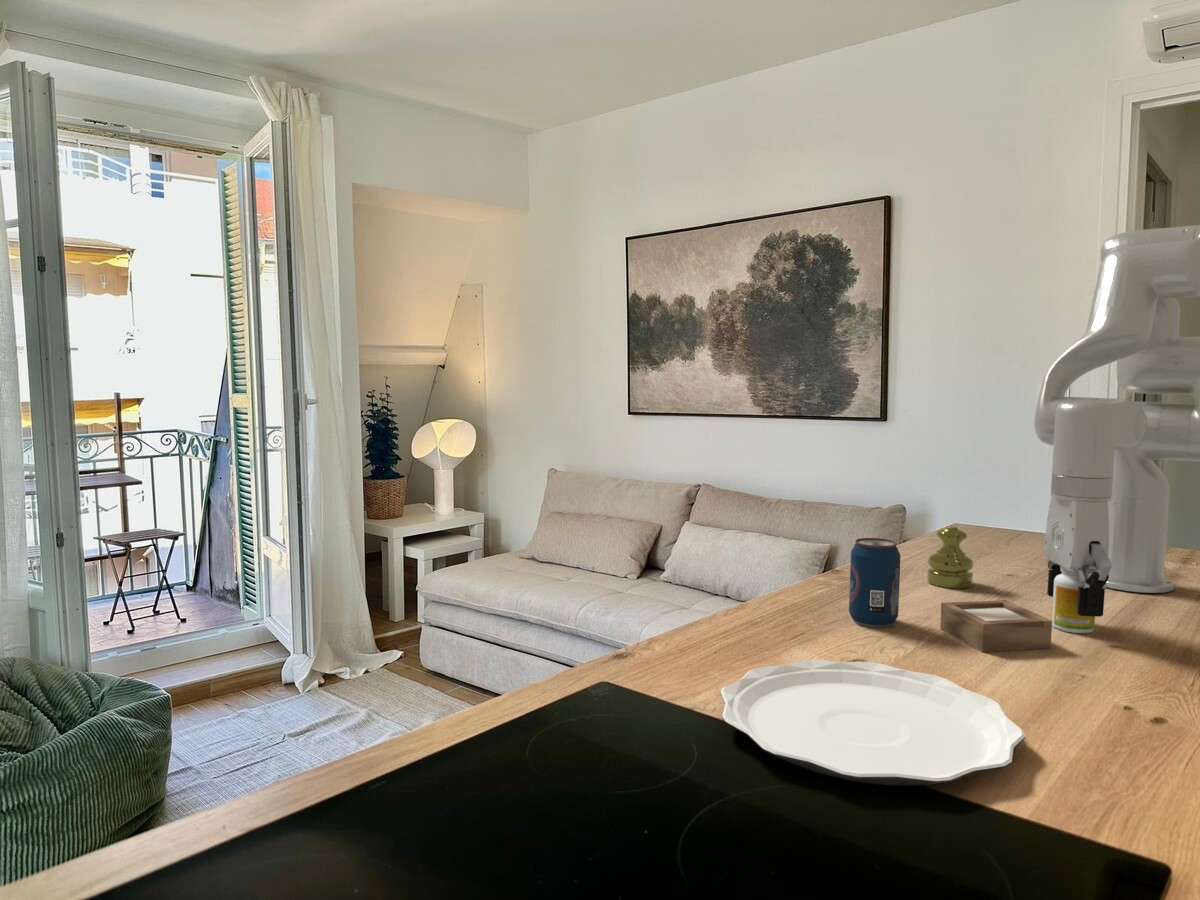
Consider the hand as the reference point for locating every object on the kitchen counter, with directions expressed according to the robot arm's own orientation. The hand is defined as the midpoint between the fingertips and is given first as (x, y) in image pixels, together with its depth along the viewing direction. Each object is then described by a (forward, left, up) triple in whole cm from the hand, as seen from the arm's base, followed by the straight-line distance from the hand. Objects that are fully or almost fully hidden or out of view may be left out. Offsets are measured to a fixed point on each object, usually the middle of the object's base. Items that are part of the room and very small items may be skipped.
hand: (1073, 605), depth 121 cm
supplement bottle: (0, 0, -4) cm, 4 cm away
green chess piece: (-24, -10, -4) cm, 26 cm away
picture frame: (+6, -13, -3) cm, 15 cm away
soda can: (0, -28, -4) cm, 28 cm away
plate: (+38, -37, -4) cm, 53 cm away
